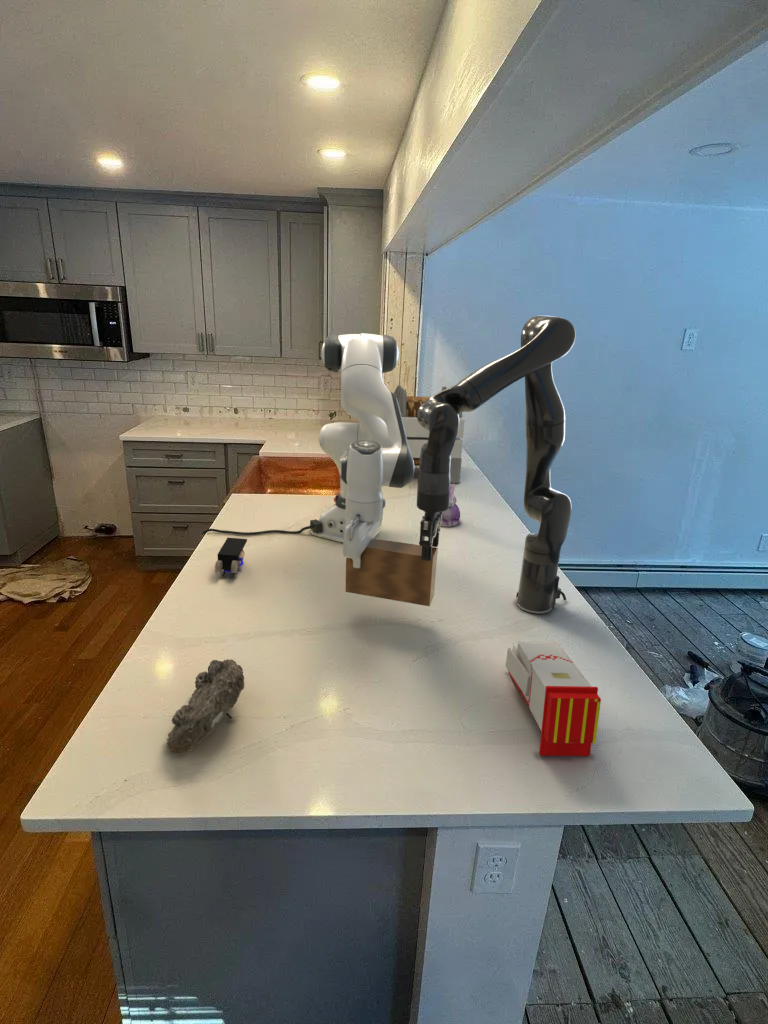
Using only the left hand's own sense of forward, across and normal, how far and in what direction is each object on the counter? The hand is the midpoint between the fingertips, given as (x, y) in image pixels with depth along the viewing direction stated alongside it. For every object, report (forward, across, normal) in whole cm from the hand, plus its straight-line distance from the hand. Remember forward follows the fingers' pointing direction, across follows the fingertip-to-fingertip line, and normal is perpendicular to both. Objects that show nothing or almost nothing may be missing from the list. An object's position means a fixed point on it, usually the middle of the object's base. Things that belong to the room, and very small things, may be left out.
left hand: (362, 560), depth 142 cm
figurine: (+16, +74, -10) cm, 77 cm away
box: (+8, 0, -8) cm, 11 cm away
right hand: (-5, 0, -17) cm, 18 cm away
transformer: (+16, +137, +15) cm, 139 cm away
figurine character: (+15, +11, +44) cm, 48 cm away
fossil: (+15, -46, +14) cm, 51 cm away
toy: (+15, -22, -46) cm, 54 cm away
